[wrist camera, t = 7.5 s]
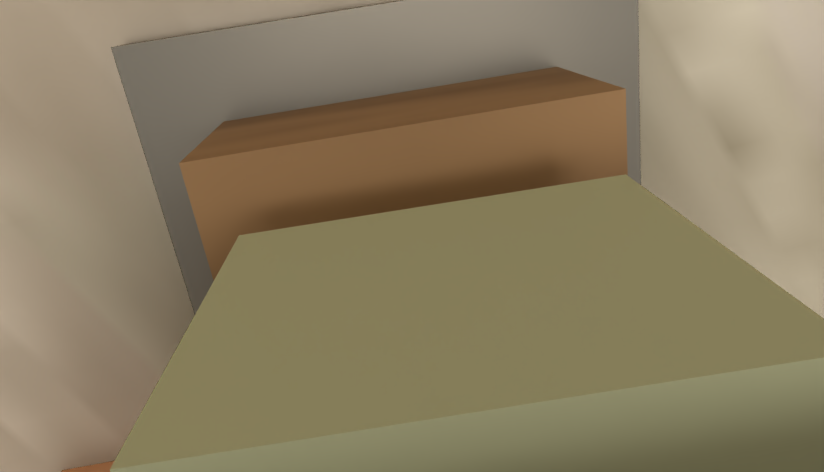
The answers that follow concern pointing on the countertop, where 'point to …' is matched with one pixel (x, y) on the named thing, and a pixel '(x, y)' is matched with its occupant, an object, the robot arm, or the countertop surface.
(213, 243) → the walnut brick
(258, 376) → the sage brick
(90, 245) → the countertop surface
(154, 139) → the build plate
